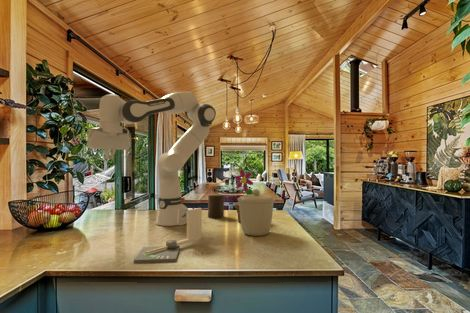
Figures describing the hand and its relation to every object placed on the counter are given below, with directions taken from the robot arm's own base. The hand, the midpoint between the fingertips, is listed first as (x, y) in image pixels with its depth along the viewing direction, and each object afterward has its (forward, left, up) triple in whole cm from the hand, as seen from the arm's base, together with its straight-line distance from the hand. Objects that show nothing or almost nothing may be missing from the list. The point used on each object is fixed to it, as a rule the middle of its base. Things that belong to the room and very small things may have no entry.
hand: (109, 159), depth 127 cm
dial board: (+8, +40, -35) cm, 54 cm away
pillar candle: (-59, +21, -35) cm, 72 cm away
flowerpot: (-56, +44, -35) cm, 79 cm away
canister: (-37, +58, -35) cm, 77 cm away
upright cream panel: (0, +40, -34) cm, 53 cm away
